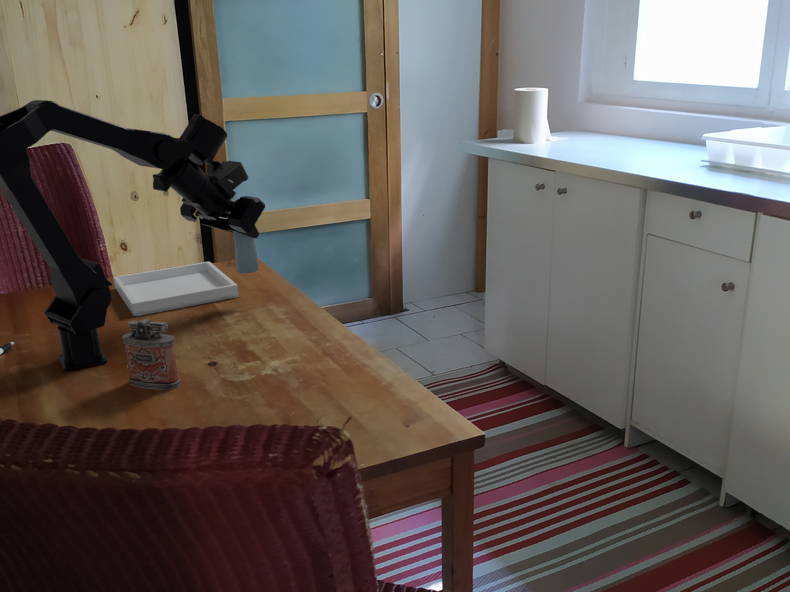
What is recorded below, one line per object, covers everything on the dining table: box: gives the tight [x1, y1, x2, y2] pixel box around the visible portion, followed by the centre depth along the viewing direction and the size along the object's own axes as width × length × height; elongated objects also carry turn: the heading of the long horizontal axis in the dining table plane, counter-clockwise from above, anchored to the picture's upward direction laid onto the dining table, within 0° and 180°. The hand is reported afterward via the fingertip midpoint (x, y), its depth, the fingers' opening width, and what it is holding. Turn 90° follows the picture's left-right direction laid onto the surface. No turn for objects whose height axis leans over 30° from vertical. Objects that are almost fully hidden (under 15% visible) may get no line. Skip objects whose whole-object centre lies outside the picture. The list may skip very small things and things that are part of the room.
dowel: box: [232, 232, 259, 274], centre depth 141 cm, size 4×4×12 cm
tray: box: [113, 261, 240, 318], centre depth 152 cm, size 20×20×2 cm
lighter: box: [121, 317, 181, 391], centre depth 110 cm, size 8×3×10 cm, turn 73°
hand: (250, 234), depth 142 cm, fingers closed on dowel, 4 cm apart
